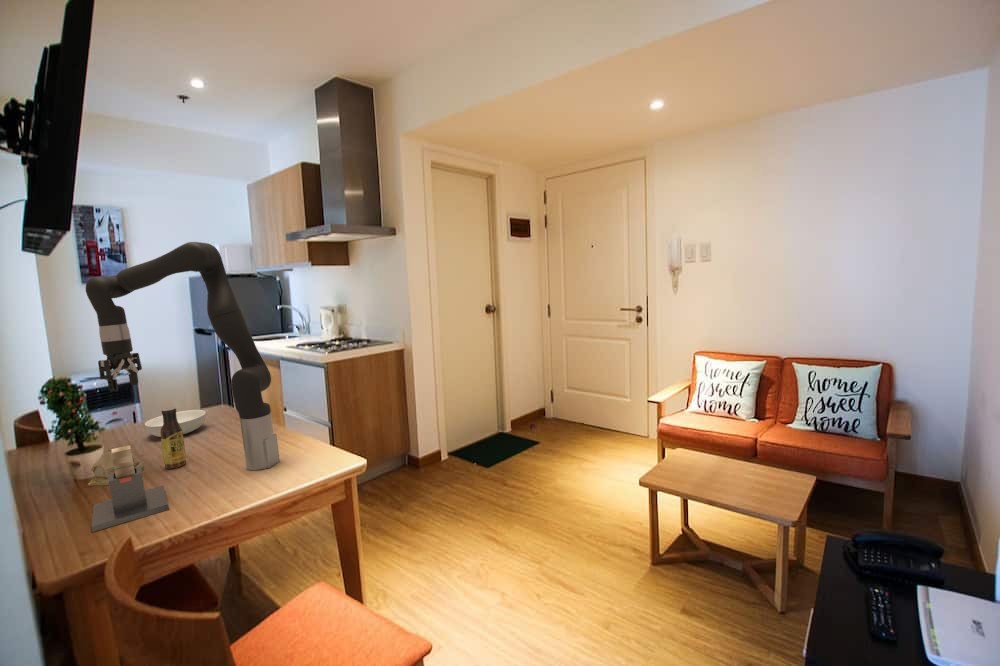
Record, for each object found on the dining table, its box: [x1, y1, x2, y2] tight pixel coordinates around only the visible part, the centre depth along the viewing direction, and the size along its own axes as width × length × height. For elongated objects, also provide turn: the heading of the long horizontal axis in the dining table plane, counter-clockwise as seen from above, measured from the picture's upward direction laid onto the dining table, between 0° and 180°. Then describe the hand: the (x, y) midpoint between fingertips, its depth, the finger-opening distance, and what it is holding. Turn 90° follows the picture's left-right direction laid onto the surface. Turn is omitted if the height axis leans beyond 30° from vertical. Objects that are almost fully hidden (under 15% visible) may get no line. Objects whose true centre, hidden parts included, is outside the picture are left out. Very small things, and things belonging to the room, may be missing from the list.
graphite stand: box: [91, 466, 170, 533], centre depth 130 cm, size 16×16×10 cm
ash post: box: [112, 444, 135, 478], centre depth 129 cm, size 4×4×16 cm
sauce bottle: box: [160, 407, 187, 470], centre depth 159 cm, size 6×6×20 cm
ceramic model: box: [87, 447, 145, 487], centre depth 153 cm, size 14×11×10 cm
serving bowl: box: [144, 409, 207, 438], centre depth 195 cm, size 21×21×7 cm
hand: (124, 387), depth 154 cm, fingers open, 8 cm apart
